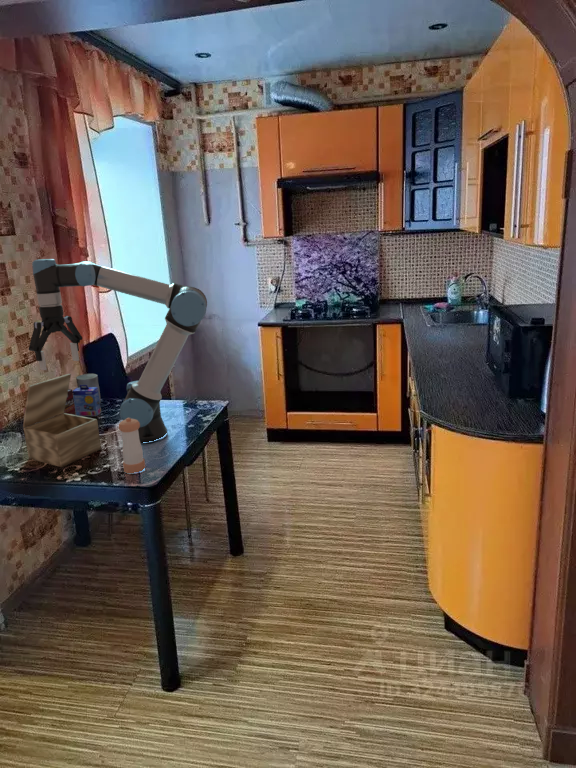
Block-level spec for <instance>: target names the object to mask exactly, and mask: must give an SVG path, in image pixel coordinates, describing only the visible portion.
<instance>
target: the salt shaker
mask: <svg viewBox="0 0 576 768" xmlns="http://www.w3.org/2000/svg"><path fill="white" fill-rule="evenodd" d="M139 427H140V423H139V421H138V420H136V419H131V418H126V419H125V420H122V421H120V422H119V423H118V430H119V431H120V432H121V437H122V458H123V459H122V460H123V462H122V465H123V473H124V472H126V473H134V472H139V471H142V470H143V469H144V468H145V467H146V462H145V461H146V459H145V458H144V451H143V447H142V444H141V443H140V440H139V432H138V429H139Z"/></svg>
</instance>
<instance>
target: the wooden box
mask: <svg viewBox="0 0 576 768" xmlns="http://www.w3.org/2000/svg"><path fill="white" fill-rule="evenodd" d="M22 428H23V432H24V437H25V438H24V440H25V444H26V451H27V455H28V459H29V460H32V459H33V461H37V462H41V463H44V464H48V465H51V466H57V467H59V468H63V467H66V466H67V465H70V464H72V463H74V462H77V461H79V460H81V459H83V458H85V457H87V456H90V455H92V454H93V453H96V452H98V451H101V450H102V446H101V445H102V444H101V439H100V437H101V436H100V431H99V423H98V419H97V418H92V417H89V416H77V415H72V414H67V413H63V414H60V415H58V416H54V417H51V418H48V419H46V420H43V421H40V422H38V423H35V424H32V425H29V426H27V427H22Z"/></svg>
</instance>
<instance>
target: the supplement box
mask: <svg viewBox="0 0 576 768" xmlns="http://www.w3.org/2000/svg"><path fill="white" fill-rule="evenodd" d="M64 413H67V414H72V415H76V410H75V404H74V398H73V389H69V388H68V393H67V399H66V404H65V409H64ZM62 414H63V413H62ZM59 415H60V414H59ZM56 416H58V415H56Z"/></svg>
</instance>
